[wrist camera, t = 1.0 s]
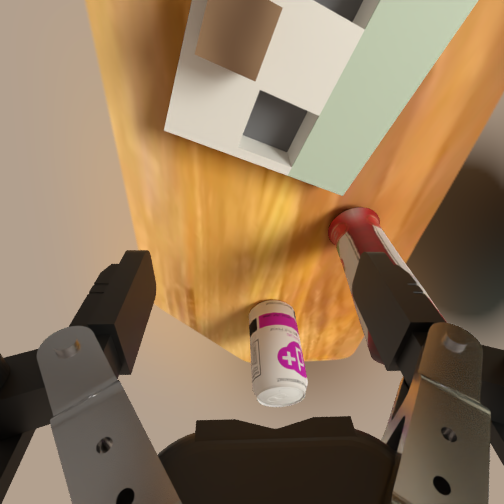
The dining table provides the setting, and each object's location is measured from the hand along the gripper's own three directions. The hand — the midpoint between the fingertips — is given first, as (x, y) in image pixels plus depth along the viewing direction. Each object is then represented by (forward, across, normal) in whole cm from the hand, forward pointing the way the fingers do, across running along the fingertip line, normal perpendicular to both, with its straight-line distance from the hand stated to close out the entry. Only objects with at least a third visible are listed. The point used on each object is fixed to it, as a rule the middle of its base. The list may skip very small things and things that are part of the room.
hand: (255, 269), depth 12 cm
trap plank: (+24, -5, -7) cm, 26 cm away
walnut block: (+20, +1, -8) cm, 22 cm away
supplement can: (+29, -6, +32) cm, 44 cm away
